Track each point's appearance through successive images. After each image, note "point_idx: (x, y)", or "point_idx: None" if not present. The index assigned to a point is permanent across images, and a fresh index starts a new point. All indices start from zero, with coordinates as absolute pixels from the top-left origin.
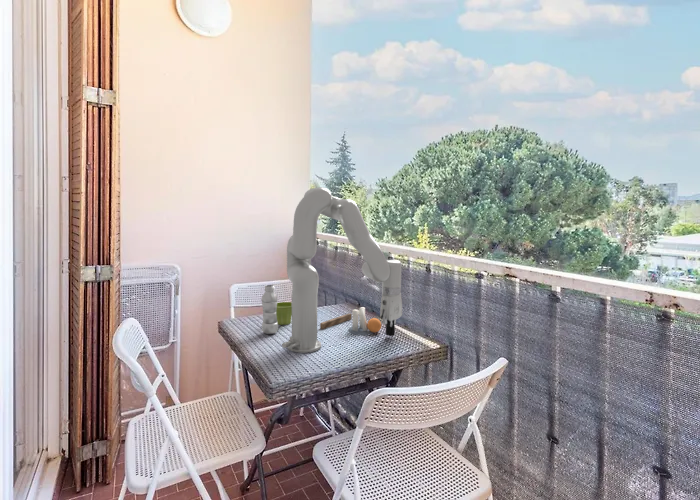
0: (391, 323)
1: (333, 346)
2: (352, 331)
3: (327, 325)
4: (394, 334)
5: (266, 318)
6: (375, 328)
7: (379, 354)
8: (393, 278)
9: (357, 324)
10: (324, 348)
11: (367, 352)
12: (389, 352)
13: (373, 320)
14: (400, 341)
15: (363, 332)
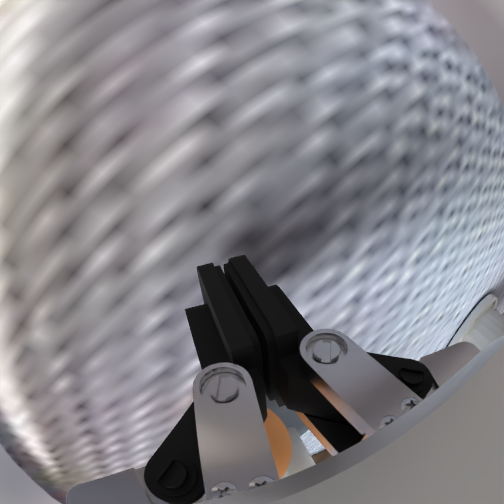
0: (359, 369)
1: (458, 308)
2: (303, 425)
3: (319, 460)
4: (200, 267)
5: None
6: (267, 414)
7: (476, 117)
8: None
9: (296, 457)
10: (470, 305)
11: (478, 179)
12: (449, 81)
13: (279, 475)
14: (229, 126)
15: (280, 411)
